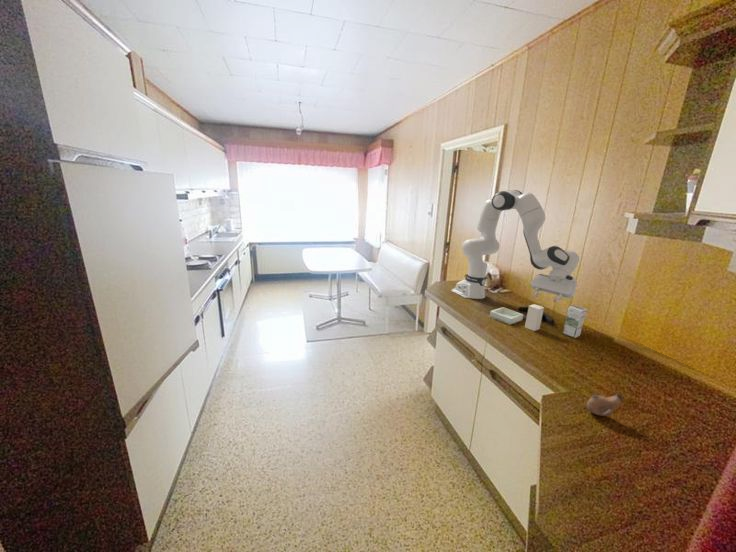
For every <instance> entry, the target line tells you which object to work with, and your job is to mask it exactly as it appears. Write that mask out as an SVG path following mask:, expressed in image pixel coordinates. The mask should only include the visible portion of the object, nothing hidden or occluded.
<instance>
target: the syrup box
mask: <svg viewBox="0 0 736 552" xmlns="http://www.w3.org/2000/svg"><path fill="white" fill-rule="evenodd" d="M586 314H587V308H584V307H581V306H578V305H575V304H573V305H570V306H569V307H568V309H567V313H566V318H565V320H564V321H565V322H564V326H563V329H562V334H564V335H566V336H569V337H571V338H574V339H576V338H578V337H580V336H581V333H582V329H583V325H584V321H585V317H586Z"/></svg>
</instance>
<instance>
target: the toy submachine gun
mask: <svg viewBox="0 0 736 552" xmlns="http://www.w3.org/2000/svg"><path fill="white" fill-rule="evenodd" d="M528 308H529V306H519V307H518V311H519V312H526V313H528ZM526 318H527V314H523V318H522V320H523V319H525V320H526ZM541 321H545V322H547V323H548V324H550V325H554V324H555V320H554V319H553V318H552V317H551V316H549V315H548V314H547V313H546V312H545V310H544V311H543V315H542V320H541Z"/></svg>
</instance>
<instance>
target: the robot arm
mask: <svg viewBox="0 0 736 552" xmlns="http://www.w3.org/2000/svg"><path fill="white" fill-rule="evenodd" d="M513 209H514V210H515V211H517V213H518V214H519V218H520V219H521V222H522V226H523V229H522V231H523V236H524V240H525V243H526V245H527V249H528V253H529V258H530V259H529V260H530V264H531V266H532V267H534V268H535V269H537V270H541V271H542V270H545V269H547V268H549V267H552V269H551V271H550V272H549V274H543V273H539V274H536V275H535V277H534V278H533V279H532V281H531V282H530V287H531V288H532V289H534V290H535V292H534V294H533V296H534V297H539V296H540V291H541V292H545V293H549V294H552V295H556V296H557V297H554V299H552V301H553V302H554V303H558V302H559V301H560V300H563V299H564V298H567V299H572V298H574V296H575V294H576V291H577V289H576V288H577V287H578V281H577V279H576V277H575V276H572V274H573V272H574V271H575V270H576V268H577V267H578V264H579V263H580V262H579V261H580V256H579V254H578V253H576V252H575V251H574V250H565V249H562V248H561V247H559V246H556V245H552V246H549V247H547V248H544V249H542V247H541V244H540V241H539V238H538V233H539V231H540V229H541V228H542V227H543V225H544V224H545V221H546V213H545V211H544V209H543V206H542V205H541V203H540V201H539V199H538V198H537V197H536V195H534V194H533V193H532V192H525V193H523V192H522V191H520V190H516V189H508V190H502V191H499V192H496V193H495V194H494V195H493V196H492V198H489V199H487V200H486V201H484V203H483V207H482V209H481V211H480V214H479V219H478V223H477V224H476V225H477V226H476V228H477V230H478V232H479V233H480V237H479V238H470V239H469V238H468V239H466V240H464V241H463V243H462V244H461V245H462V247H461V250H462V252H463V254H464V255H465V256H466V257H467V259H468V269H467V270H468V271H467V272H468V273H466V274H464V277H465V278H464V279H461V280H460V281H458V282H457V283H456V284H455V287H454V288H452V289H451V292H453V293H454V294H457V295H459V296H461V297H463V298H465V299H474V300H479V299H480V300H483V299H485V298H486V294H485V292H486V291H485V285H486V281H487V269H488V264H487V263H486V262H485V261H484V260H483V256H491V255H493V254H496V253H497V252H498V251H499V249H500V243H499V240H497V238H496V230H497V226H498V224H499V223H498V222H499V220H500V216H501V214H502V211H511V210H513Z"/></svg>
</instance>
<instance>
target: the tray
mask: <svg viewBox="0 0 736 552" xmlns="http://www.w3.org/2000/svg"><path fill="white" fill-rule="evenodd" d="M523 315H524V314H523V313H520V312H518V311H515V310H513V309H509V308H506V307H504V306H501V307H499V308H496V309H492V310H490V311H489V318H491V317H492V319H493V320H496V319H497V320H496V321H499V322H501V321H502V323H503V324H506V323H507V324H506V325H508V324H509V326H511V325H514V324H516V323H518V322H521V321H523Z"/></svg>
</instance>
